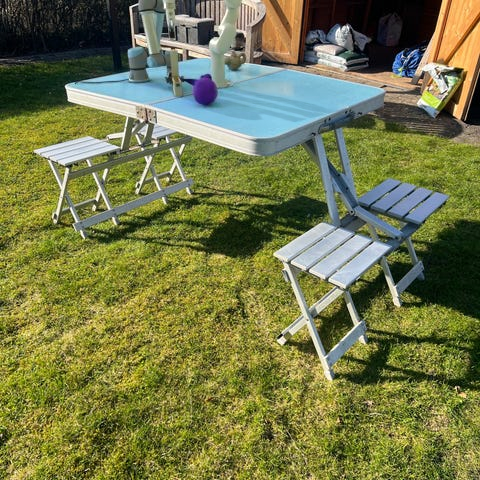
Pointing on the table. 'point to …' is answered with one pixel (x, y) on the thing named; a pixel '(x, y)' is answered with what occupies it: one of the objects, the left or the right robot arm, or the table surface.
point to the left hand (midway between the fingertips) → (176, 82)
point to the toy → (204, 89)
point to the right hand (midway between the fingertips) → (172, 37)
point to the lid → (174, 62)
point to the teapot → (235, 60)
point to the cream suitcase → (177, 86)
